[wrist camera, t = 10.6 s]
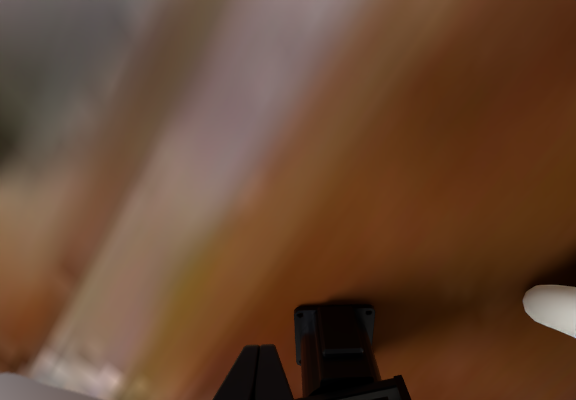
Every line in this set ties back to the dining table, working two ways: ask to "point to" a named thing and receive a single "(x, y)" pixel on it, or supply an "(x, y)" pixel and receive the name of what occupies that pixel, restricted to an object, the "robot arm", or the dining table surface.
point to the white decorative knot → (552, 307)
